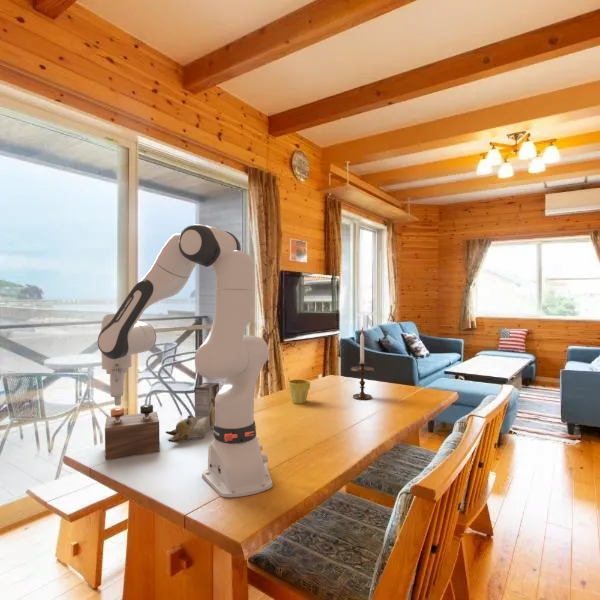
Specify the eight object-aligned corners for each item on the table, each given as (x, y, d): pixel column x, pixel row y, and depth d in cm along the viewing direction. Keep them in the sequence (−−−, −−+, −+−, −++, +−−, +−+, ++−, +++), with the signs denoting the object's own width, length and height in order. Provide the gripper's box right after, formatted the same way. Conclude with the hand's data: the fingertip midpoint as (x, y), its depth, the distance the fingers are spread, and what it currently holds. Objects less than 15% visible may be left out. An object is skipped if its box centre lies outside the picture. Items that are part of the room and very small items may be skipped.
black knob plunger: (153, 445, 135) (153, 407, 135) (141, 447, 134) (140, 408, 133) (153, 441, 139) (152, 404, 138) (140, 443, 137) (140, 405, 137)
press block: (159, 451, 132) (159, 421, 132) (105, 460, 126) (104, 428, 125) (157, 439, 143) (156, 411, 143) (106, 446, 137) (106, 417, 136)
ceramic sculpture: (211, 415, 141) (166, 424, 136) (213, 440, 142) (168, 449, 136) (206, 408, 151) (164, 415, 145) (207, 431, 152) (166, 439, 146)
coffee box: (204, 422, 162) (204, 382, 162) (219, 423, 161) (219, 382, 160) (194, 429, 153) (194, 387, 153) (210, 430, 152) (209, 388, 152)
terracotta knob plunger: (124, 450, 132) (123, 410, 131) (111, 452, 130) (110, 411, 130) (124, 445, 135) (124, 407, 135) (111, 447, 134) (110, 408, 133)
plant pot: (314, 400, 192) (314, 380, 192) (302, 406, 184) (302, 384, 183) (295, 397, 198) (295, 378, 198) (283, 403, 189) (283, 382, 189)
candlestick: (357, 393, 205) (357, 324, 204) (377, 396, 199) (377, 325, 198) (347, 398, 196) (346, 326, 196) (367, 401, 190) (367, 327, 189)
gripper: (127, 366, 124) (128, 411, 124) (127, 357, 142) (128, 396, 143) (104, 368, 121) (105, 414, 121) (107, 358, 140) (108, 398, 140)
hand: (117, 404), depth 132 cm, fingers closed
